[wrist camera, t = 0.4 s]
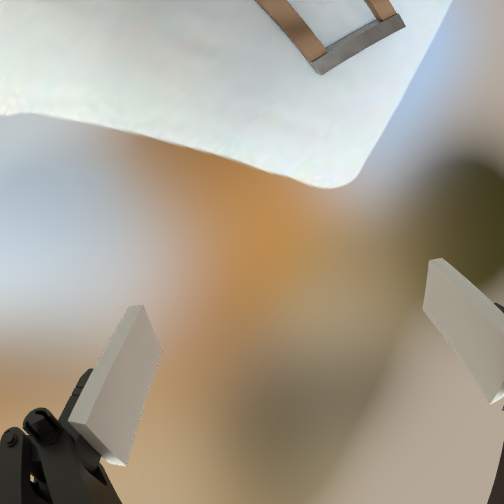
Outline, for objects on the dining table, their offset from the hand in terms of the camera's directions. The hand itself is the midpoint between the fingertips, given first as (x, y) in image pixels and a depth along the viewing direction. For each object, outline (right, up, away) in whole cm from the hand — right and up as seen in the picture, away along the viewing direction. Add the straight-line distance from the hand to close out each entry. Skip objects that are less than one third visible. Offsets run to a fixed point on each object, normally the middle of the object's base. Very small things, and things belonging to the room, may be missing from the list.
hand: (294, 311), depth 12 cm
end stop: (+11, +29, +15) cm, 34 cm away
